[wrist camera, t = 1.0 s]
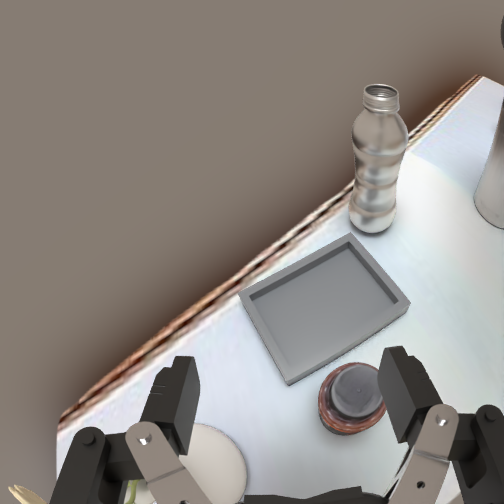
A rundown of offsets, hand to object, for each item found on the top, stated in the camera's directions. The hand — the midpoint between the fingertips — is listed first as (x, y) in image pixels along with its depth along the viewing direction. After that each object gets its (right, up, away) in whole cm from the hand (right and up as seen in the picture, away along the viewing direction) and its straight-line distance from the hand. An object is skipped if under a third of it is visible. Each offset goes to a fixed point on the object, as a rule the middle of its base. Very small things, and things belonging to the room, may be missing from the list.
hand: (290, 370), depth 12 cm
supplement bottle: (+8, -12, +16) cm, 22 cm away
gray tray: (+7, -2, +23) cm, 25 cm away
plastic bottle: (+15, +9, +30) cm, 35 cm away
